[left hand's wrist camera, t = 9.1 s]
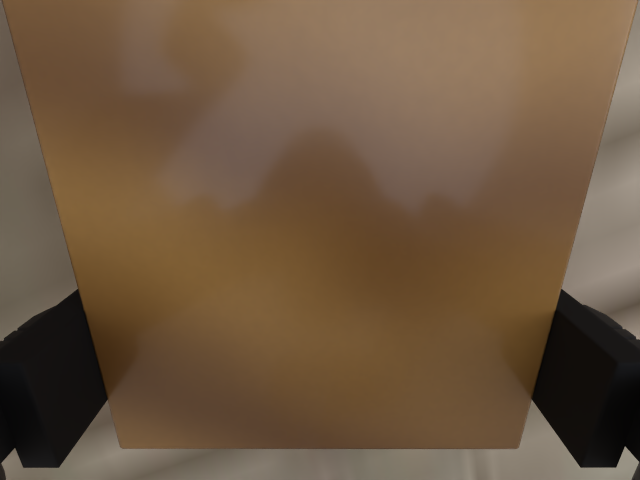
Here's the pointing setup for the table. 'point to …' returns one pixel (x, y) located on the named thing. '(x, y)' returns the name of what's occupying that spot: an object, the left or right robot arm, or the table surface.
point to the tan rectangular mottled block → (319, 207)
